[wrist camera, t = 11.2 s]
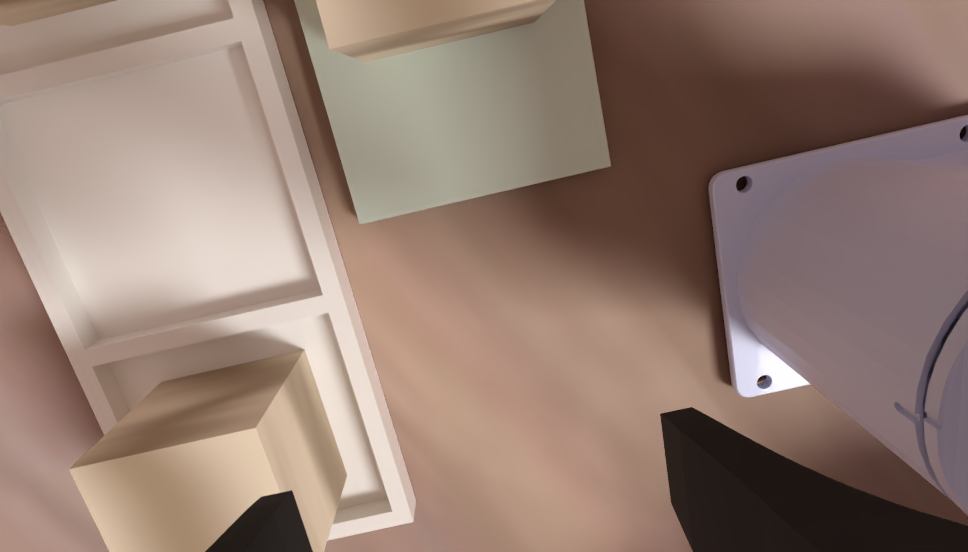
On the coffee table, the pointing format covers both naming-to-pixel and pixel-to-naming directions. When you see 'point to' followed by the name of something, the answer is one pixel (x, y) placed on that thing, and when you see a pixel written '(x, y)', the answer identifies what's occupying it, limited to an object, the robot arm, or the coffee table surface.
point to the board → (463, 113)
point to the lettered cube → (417, 23)
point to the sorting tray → (185, 219)
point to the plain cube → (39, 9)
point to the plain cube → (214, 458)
